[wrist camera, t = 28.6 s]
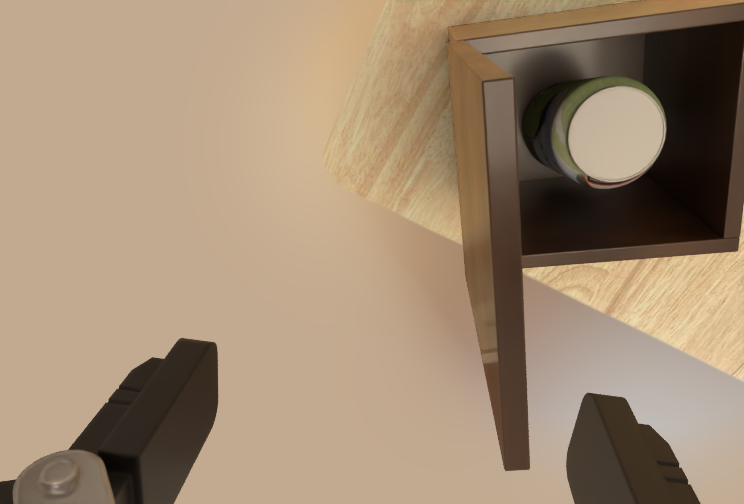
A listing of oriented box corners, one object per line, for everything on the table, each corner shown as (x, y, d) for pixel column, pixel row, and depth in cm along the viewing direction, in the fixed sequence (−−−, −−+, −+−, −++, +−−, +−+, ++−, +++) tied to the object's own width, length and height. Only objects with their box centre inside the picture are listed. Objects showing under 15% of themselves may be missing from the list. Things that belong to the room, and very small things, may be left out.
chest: (655, -2, 39) (767, -1, 26) (646, 175, 44) (738, 251, 30) (447, 26, 41) (455, 40, 28) (460, 193, 45) (472, 272, 32)
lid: (515, 76, 14) (481, 80, 14) (530, 470, 19) (504, 471, 19) (464, 40, 27) (446, 42, 27) (480, 275, 32) (465, 277, 32)
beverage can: (520, 167, 43) (550, 224, 32) (520, 63, 41) (553, 86, 30) (609, 161, 43) (671, 217, 32) (616, 54, 40) (686, 75, 29)
